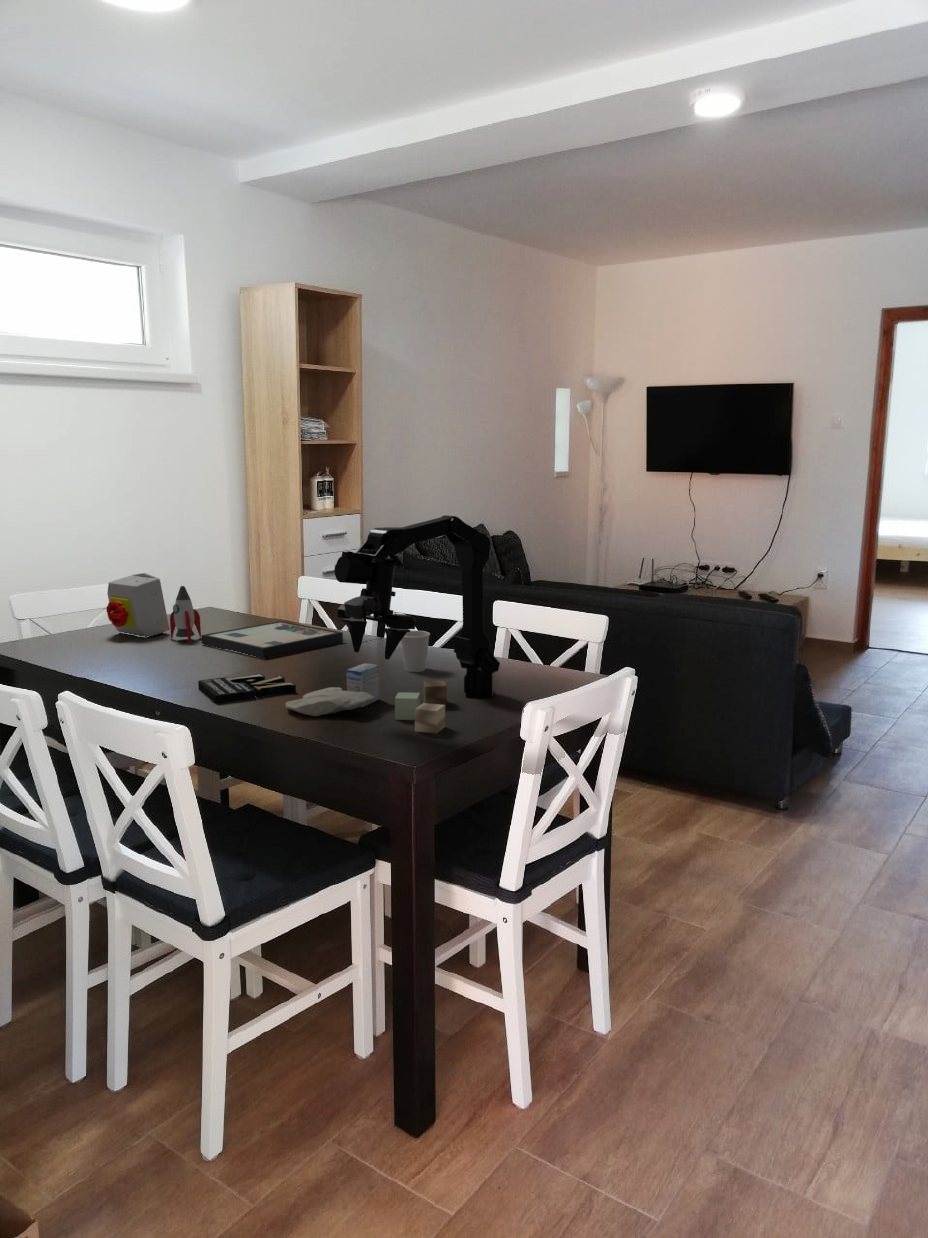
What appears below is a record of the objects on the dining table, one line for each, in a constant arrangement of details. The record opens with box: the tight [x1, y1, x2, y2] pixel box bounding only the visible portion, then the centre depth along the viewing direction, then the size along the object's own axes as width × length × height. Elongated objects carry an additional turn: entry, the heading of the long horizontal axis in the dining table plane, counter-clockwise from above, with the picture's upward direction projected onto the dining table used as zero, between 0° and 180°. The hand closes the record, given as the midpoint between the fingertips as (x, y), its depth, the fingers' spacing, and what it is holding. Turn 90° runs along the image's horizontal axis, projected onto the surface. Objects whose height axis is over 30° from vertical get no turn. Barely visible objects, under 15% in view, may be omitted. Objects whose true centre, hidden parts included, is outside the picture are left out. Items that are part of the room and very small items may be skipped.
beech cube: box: [414, 702, 446, 734], centre depth 201 cm, size 5×5×5 cm
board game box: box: [201, 620, 344, 659], centre depth 289 cm, size 30×4×30 cm
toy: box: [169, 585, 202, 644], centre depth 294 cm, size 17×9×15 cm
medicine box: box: [346, 662, 381, 708], centre depth 222 cm, size 8×4×9 cm, turn 154°
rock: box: [285, 686, 375, 717], centre depth 215 cm, size 21×5×15 cm
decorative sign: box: [197, 672, 297, 705], centre depth 233 cm, size 17×2×20 cm
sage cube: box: [394, 692, 421, 721], centre depth 210 cm, size 5×5×5 cm
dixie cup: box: [400, 630, 431, 673], centre depth 254 cm, size 8×8×10 cm
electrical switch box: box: [106, 572, 170, 637], centre depth 300 cm, size 15×15×20 cm
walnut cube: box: [422, 680, 448, 707], centre depth 221 cm, size 5×5×5 cm
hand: (371, 655), depth 207 cm, fingers open, 9 cm apart
